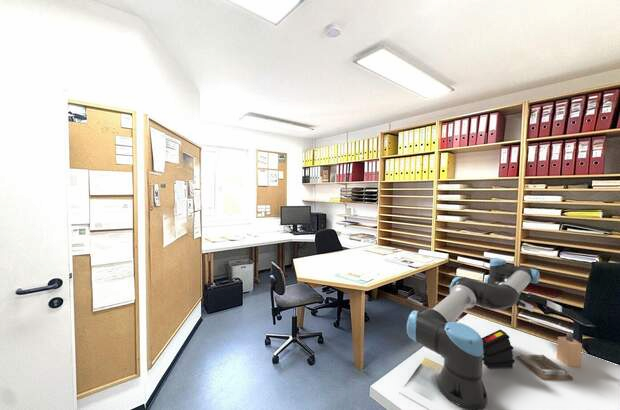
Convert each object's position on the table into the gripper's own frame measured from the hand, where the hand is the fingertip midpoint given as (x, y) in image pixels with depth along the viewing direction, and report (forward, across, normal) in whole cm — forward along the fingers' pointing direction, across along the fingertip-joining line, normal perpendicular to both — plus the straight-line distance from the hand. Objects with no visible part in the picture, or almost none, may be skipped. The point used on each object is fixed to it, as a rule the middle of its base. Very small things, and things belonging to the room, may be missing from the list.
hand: (546, 309), depth 114 cm
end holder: (+15, +15, -18) cm, 28 cm away
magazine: (+14, +34, -18) cm, 41 cm away
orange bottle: (+11, 0, -18) cm, 21 cm away
